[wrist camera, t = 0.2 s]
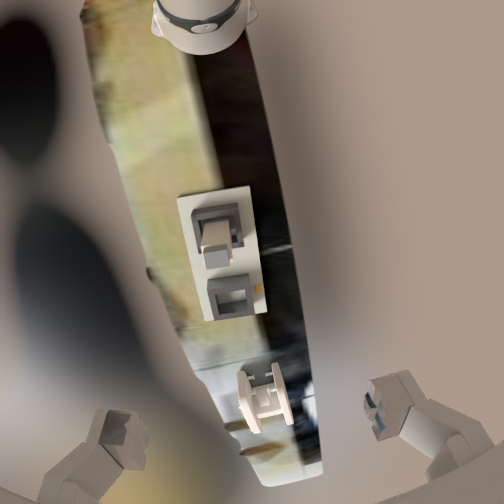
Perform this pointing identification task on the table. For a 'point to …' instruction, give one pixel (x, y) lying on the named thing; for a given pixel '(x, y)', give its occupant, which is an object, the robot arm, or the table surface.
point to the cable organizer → (263, 399)
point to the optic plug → (217, 243)
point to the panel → (242, 239)
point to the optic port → (230, 308)
